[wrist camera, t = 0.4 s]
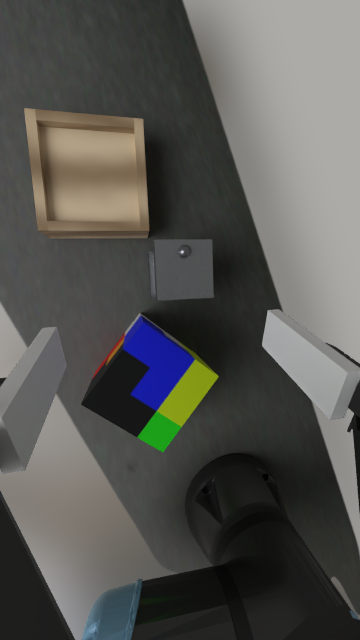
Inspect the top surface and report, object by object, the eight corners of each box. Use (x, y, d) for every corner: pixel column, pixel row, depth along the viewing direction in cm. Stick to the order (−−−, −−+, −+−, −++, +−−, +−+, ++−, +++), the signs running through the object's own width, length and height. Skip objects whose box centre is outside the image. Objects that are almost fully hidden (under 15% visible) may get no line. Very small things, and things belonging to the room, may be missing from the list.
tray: (147, 238, 32) (149, 230, 28) (50, 238, 30) (38, 230, 26) (141, 140, 31) (143, 119, 27) (38, 133, 28) (24, 108, 25)
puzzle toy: (139, 312, 33) (143, 321, 24) (195, 353, 36) (218, 376, 26) (96, 370, 33) (81, 404, 23) (154, 407, 35) (162, 452, 26)
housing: (192, 295, 34) (215, 297, 25) (150, 298, 33) (158, 300, 24) (191, 252, 34) (214, 238, 24) (148, 253, 33) (154, 238, 23)
